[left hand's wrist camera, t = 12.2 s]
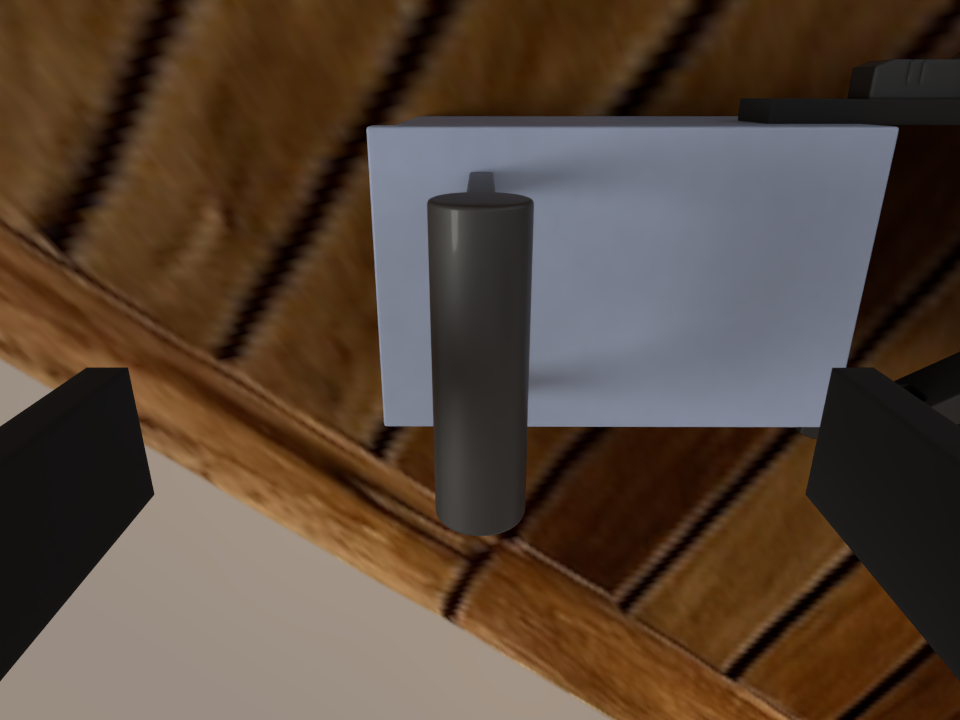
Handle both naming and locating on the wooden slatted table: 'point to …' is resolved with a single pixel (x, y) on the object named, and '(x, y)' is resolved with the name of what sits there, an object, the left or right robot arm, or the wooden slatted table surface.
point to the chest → (597, 121)
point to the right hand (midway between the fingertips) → (731, 264)
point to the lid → (611, 283)
